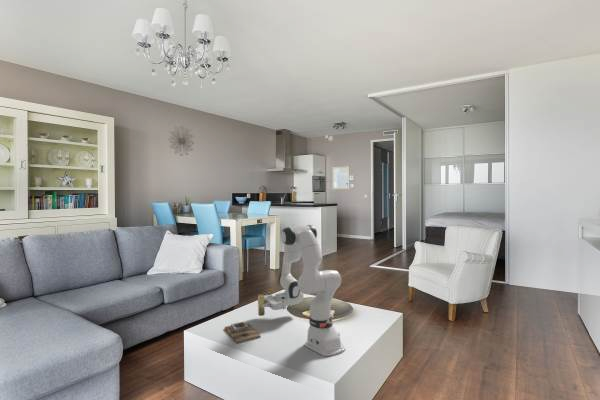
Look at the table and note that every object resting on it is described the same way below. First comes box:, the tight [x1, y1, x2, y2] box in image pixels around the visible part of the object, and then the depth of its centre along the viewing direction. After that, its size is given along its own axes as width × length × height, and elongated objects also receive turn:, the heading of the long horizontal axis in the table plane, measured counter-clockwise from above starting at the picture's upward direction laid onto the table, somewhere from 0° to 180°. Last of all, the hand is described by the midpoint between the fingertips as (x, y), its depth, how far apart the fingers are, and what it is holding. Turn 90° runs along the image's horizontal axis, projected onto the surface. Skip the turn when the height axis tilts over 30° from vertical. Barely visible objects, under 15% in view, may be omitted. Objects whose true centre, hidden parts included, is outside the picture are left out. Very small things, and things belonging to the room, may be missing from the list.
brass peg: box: [257, 294, 266, 317], centre depth 212 cm, size 4×4×12 cm
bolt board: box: [224, 321, 261, 344], centre depth 197 cm, size 22×14×3 cm, turn 30°
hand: (259, 304), depth 211 cm, fingers closed on brass peg, 4 cm apart
